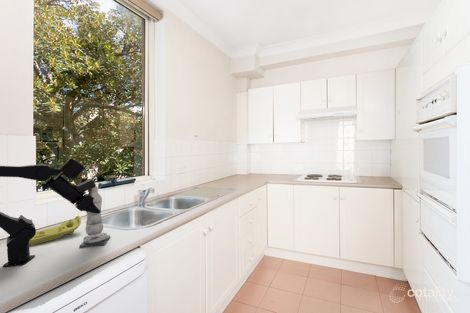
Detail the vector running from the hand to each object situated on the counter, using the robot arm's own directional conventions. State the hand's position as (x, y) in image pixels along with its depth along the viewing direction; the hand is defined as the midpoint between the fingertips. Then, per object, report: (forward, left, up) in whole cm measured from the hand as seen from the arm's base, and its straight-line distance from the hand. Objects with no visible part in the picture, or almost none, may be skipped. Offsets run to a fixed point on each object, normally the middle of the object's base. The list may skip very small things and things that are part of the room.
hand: (97, 211), depth 101 cm
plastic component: (+12, +21, -13) cm, 28 cm away
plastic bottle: (-1, +1, -10) cm, 10 cm away
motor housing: (-1, +1, -13) cm, 13 cm away
